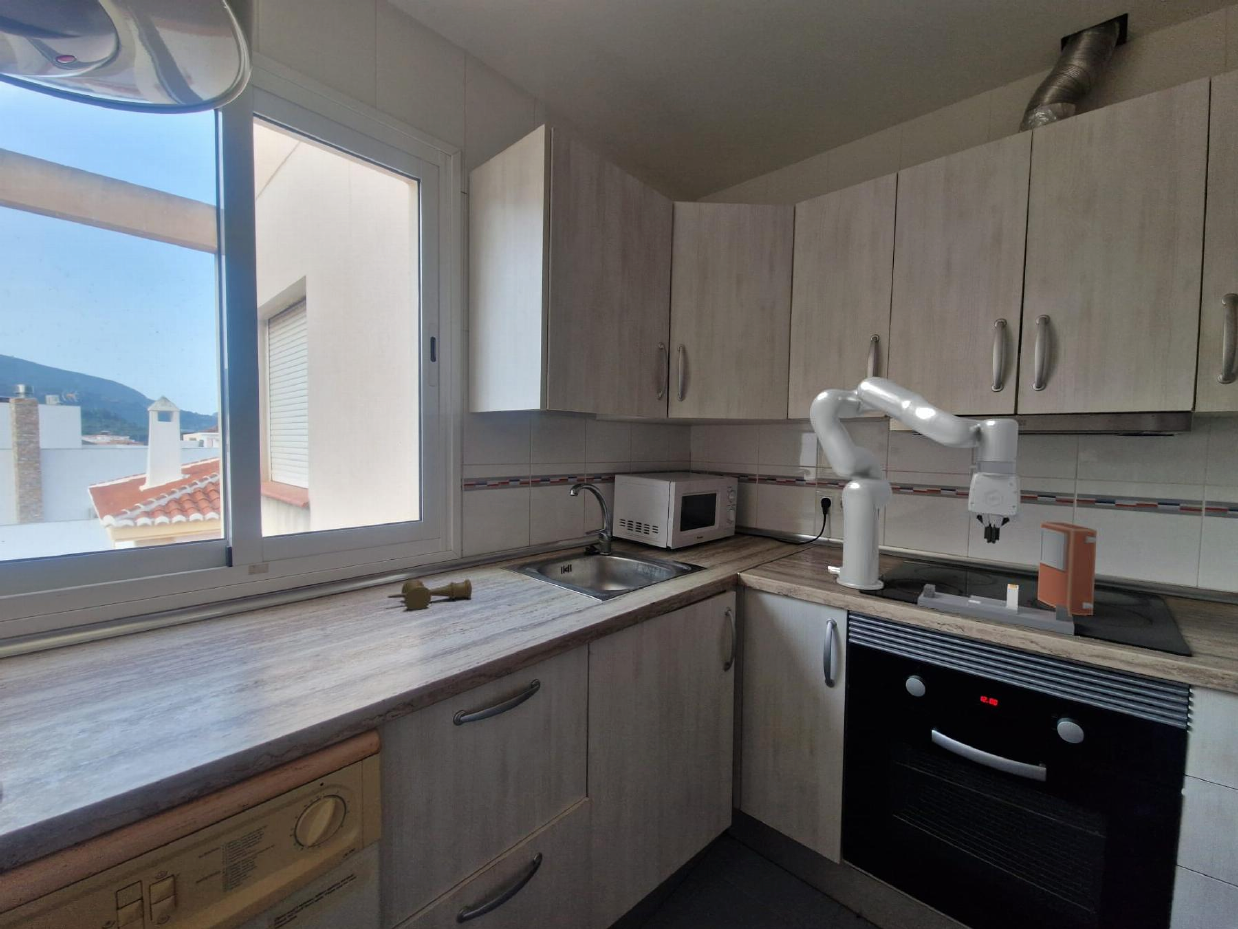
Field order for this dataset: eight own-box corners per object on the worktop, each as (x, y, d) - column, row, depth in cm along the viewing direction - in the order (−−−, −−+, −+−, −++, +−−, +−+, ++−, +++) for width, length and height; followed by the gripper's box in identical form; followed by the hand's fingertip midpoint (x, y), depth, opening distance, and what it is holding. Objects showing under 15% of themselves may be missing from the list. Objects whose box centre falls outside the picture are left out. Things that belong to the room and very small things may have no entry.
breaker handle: (1006, 610, 120) (1007, 586, 120) (1007, 605, 124) (1008, 583, 123) (1017, 611, 119) (1018, 588, 119) (1017, 607, 122) (1018, 584, 122)
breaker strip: (917, 606, 130) (918, 588, 130) (924, 597, 137) (924, 581, 137) (1073, 635, 111) (1074, 615, 110) (1071, 623, 118) (1072, 604, 118)
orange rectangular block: (1059, 600, 137) (1100, 618, 122) (1030, 598, 138) (1067, 615, 124) (1063, 521, 136) (1104, 530, 122) (1033, 520, 138) (1071, 529, 123)
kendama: (475, 604, 128) (389, 614, 118) (466, 595, 136) (385, 604, 126) (475, 581, 128) (390, 589, 118) (466, 573, 136) (385, 580, 126)
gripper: (957, 467, 126) (953, 540, 127) (1034, 471, 116) (1029, 549, 117) (961, 466, 132) (957, 536, 132) (1035, 470, 122) (1030, 545, 123)
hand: (991, 542), depth 125 cm, fingers closed
